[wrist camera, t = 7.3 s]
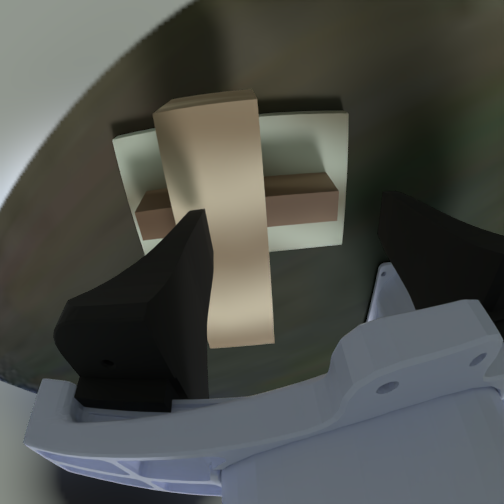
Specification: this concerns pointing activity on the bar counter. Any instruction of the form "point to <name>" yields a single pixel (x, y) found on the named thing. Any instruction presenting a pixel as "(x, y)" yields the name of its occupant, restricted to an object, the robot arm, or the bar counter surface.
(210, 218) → the birch bar
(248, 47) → the bar counter surface
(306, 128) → the fulcrum stand
